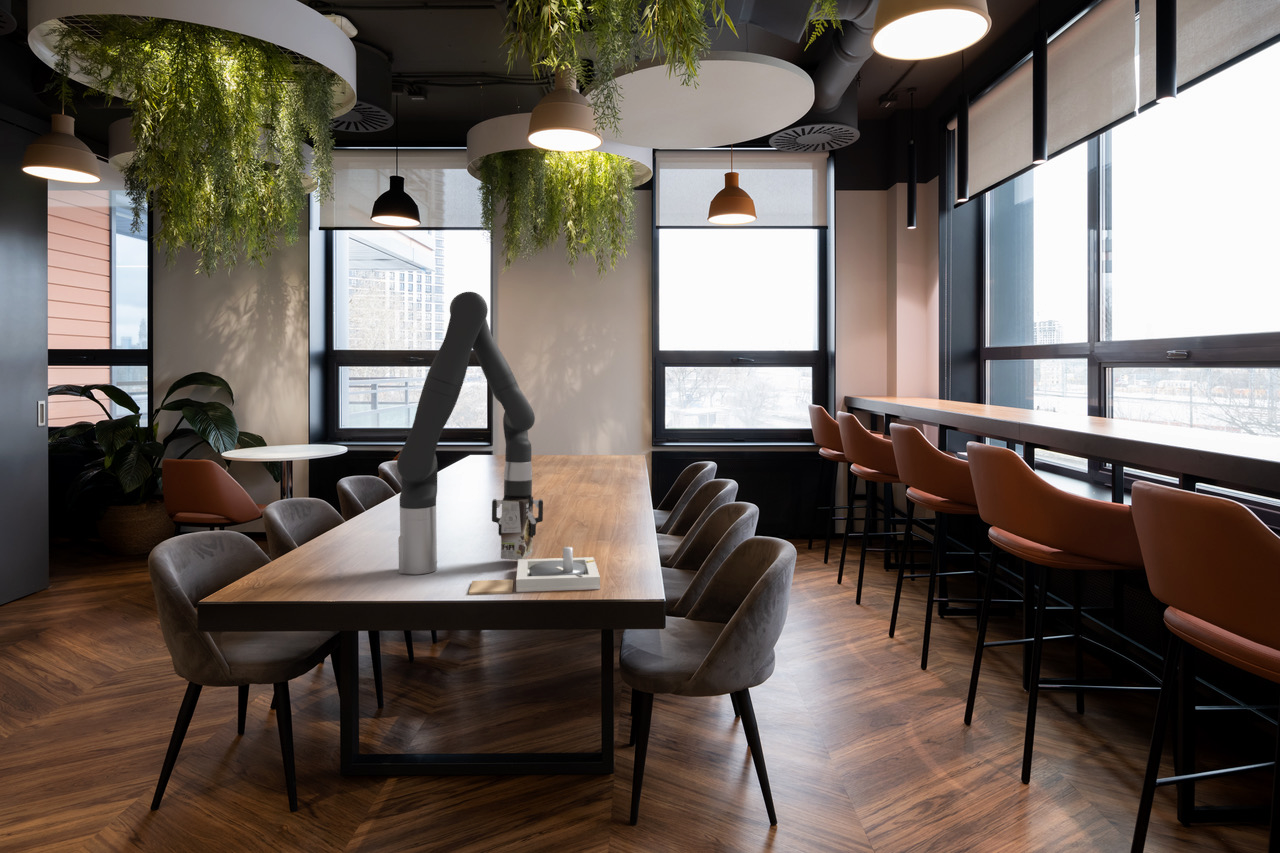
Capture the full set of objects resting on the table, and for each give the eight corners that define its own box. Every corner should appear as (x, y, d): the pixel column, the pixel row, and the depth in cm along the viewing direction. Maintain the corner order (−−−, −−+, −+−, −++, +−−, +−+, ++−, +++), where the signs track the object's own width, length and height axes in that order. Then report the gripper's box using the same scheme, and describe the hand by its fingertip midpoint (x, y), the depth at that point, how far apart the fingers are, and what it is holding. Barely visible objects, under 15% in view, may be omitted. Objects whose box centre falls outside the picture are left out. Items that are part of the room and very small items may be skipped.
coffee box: (523, 560, 198) (524, 501, 197) (499, 559, 199) (500, 499, 198) (533, 553, 207) (534, 496, 206) (511, 551, 208) (512, 494, 207)
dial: (519, 572, 189) (519, 543, 188) (565, 564, 197) (565, 536, 197) (547, 585, 178) (547, 553, 177) (595, 575, 186) (595, 545, 186)
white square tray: (516, 591, 176) (516, 578, 176) (518, 570, 196) (518, 558, 196) (600, 589, 179) (600, 575, 179) (593, 568, 199) (593, 556, 199)
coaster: (468, 594, 174) (468, 592, 174) (472, 583, 184) (472, 580, 184) (512, 593, 175) (512, 590, 175) (513, 581, 185) (513, 579, 185)
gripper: (490, 479, 197) (489, 540, 198) (544, 479, 199) (543, 540, 200) (492, 475, 204) (491, 534, 205) (544, 476, 207) (543, 534, 208)
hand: (517, 537), depth 203 cm, fingers closed on coffee box, 7 cm apart
